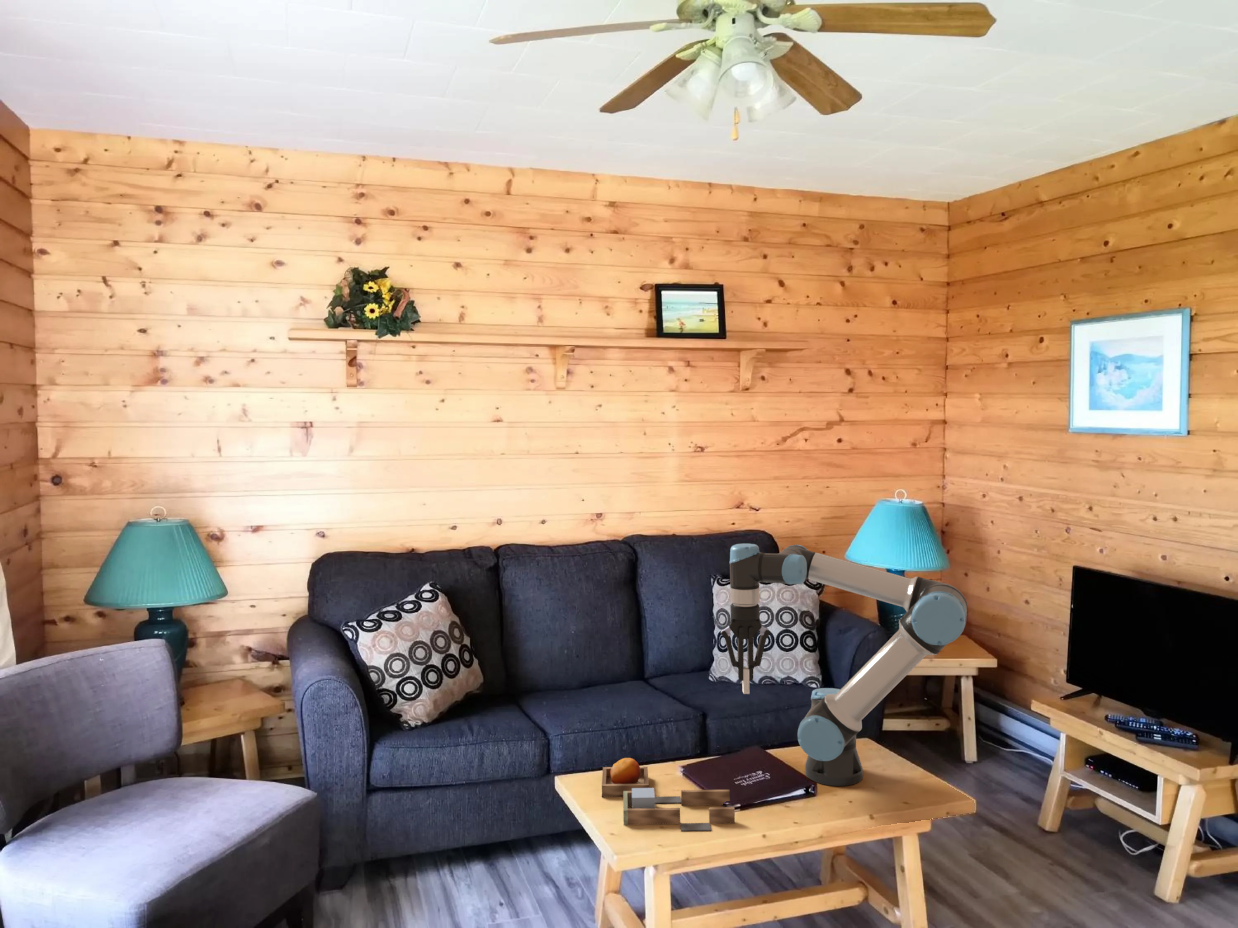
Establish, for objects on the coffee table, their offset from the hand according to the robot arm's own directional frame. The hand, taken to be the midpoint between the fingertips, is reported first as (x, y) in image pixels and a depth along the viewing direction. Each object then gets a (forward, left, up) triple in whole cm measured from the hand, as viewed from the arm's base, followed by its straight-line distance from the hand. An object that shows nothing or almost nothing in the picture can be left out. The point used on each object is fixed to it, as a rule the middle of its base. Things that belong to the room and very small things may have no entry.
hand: (745, 692), depth 238 cm
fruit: (+32, +2, -24) cm, 40 cm away
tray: (+32, +2, -24) cm, 40 cm away
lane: (+19, +18, -24) cm, 36 cm away
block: (+28, +18, -24) cm, 41 cm away
